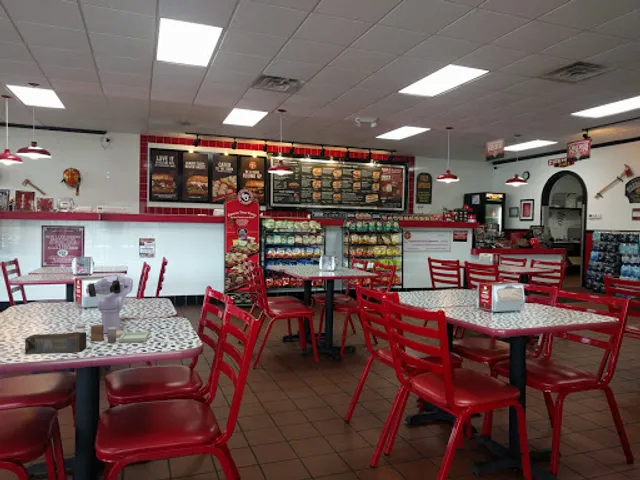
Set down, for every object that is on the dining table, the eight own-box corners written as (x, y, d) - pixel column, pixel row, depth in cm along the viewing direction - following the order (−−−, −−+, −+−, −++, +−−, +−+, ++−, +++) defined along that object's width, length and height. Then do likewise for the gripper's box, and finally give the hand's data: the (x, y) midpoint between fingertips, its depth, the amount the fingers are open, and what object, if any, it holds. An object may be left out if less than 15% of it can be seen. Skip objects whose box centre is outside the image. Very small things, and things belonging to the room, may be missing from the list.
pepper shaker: (108, 341, 191) (108, 326, 191) (117, 341, 191) (117, 326, 191) (106, 343, 187) (106, 328, 187) (115, 343, 188) (115, 328, 188)
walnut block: (93, 339, 194) (93, 325, 194) (103, 339, 195) (103, 324, 195) (90, 341, 190) (90, 327, 190) (101, 341, 191) (101, 326, 191)
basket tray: (123, 336, 199) (123, 332, 199) (148, 335, 202) (148, 331, 202) (118, 343, 188) (118, 338, 188) (145, 342, 190) (145, 337, 190)
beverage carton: (33, 349, 178) (33, 332, 178) (87, 347, 181) (87, 330, 181) (24, 354, 170) (24, 336, 170) (81, 352, 173) (81, 335, 173)
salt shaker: (77, 338, 195) (77, 324, 195) (85, 338, 196) (85, 324, 196) (75, 340, 192) (75, 325, 192) (83, 340, 193) (84, 325, 193)
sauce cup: (113, 336, 201) (113, 330, 201) (123, 335, 202) (123, 329, 202) (112, 338, 197) (112, 332, 197) (122, 337, 198) (122, 331, 198)
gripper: (88, 279, 202) (80, 284, 188) (124, 274, 205) (118, 279, 192) (90, 295, 202) (82, 301, 189) (126, 290, 205) (120, 296, 192)
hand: (100, 291), depth 190 cm, fingers open, 7 cm apart
